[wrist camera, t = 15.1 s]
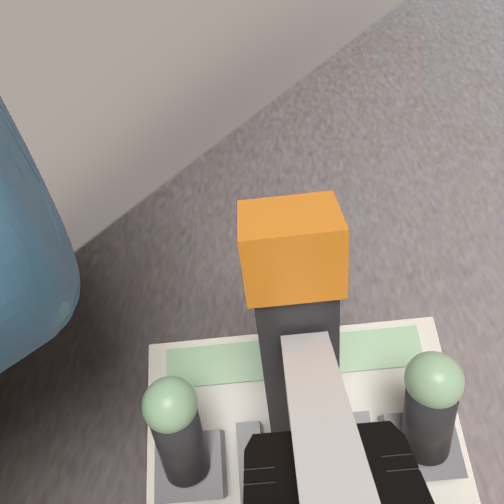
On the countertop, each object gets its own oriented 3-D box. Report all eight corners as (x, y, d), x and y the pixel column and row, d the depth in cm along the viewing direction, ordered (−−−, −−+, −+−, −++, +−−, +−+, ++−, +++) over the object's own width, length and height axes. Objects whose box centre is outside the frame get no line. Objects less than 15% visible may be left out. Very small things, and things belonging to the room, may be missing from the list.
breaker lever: (274, 495, 19) (237, 241, 12) (270, 444, 21) (237, 200, 14) (344, 489, 19) (349, 229, 12) (334, 438, 21) (332, 190, 14)
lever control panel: (162, 605, 22) (86, 697, 13) (163, 355, 27) (107, 312, 18) (477, 580, 21) (596, 661, 13) (417, 331, 26) (477, 275, 18)
